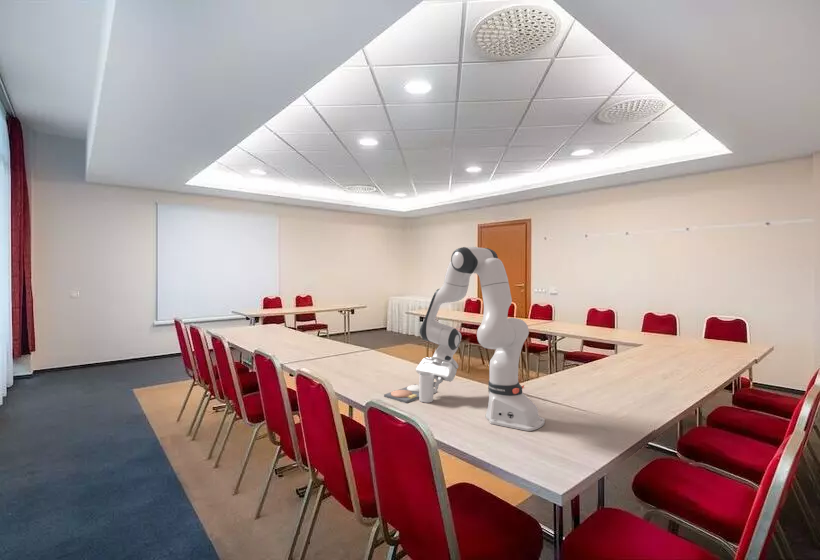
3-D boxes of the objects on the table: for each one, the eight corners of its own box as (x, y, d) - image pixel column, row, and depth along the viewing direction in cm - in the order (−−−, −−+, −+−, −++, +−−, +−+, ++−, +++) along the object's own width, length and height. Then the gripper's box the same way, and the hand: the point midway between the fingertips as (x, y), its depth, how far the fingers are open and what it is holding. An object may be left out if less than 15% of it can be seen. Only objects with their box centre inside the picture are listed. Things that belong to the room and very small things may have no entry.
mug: (423, 403, 173) (424, 377, 172) (415, 399, 179) (416, 373, 178) (442, 400, 178) (443, 374, 177) (434, 395, 184) (435, 370, 183)
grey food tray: (437, 391, 191) (437, 387, 190) (406, 403, 174) (406, 399, 174) (415, 386, 200) (415, 382, 200) (384, 396, 184) (384, 392, 184)
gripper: (421, 352, 190) (407, 377, 183) (455, 358, 176) (442, 385, 169) (427, 360, 193) (414, 384, 186) (461, 366, 180) (448, 393, 173)
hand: (428, 385), depth 178 cm, fingers closed on mug, 6 cm apart
